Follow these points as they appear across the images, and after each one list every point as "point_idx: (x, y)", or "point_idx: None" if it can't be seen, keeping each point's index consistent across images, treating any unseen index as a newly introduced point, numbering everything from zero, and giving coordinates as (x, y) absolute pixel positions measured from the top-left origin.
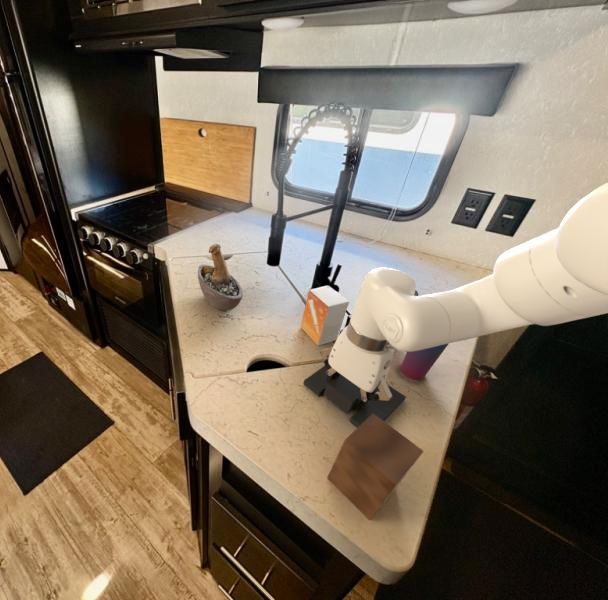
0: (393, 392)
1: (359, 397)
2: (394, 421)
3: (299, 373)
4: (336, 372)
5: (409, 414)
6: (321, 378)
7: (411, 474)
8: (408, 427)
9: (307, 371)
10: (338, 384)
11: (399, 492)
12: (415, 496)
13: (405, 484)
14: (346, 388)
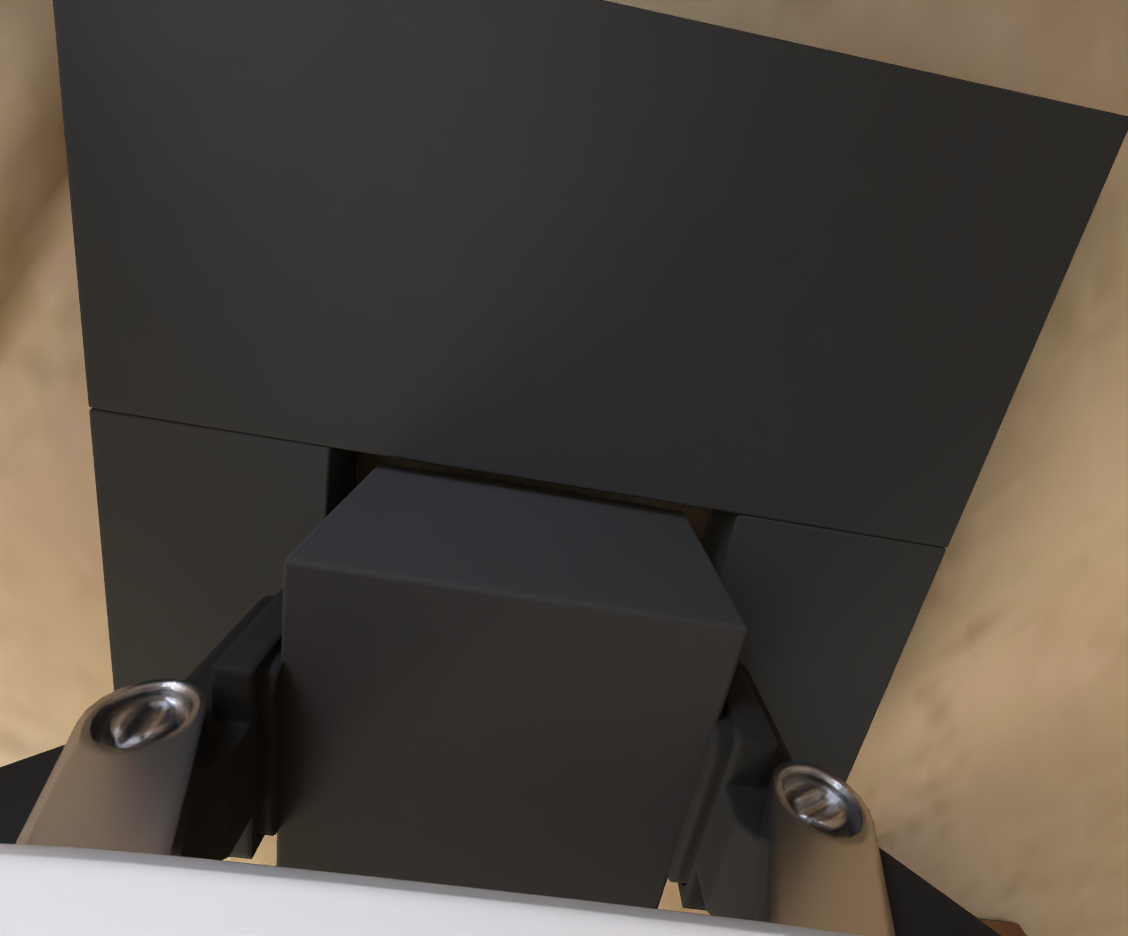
0: (969, 167)
1: (694, 888)
2: (974, 486)
3: (37, 578)
4: (219, 802)
5: (1109, 297)
6: (210, 580)
7: (1107, 804)
8: (1096, 463)
9: (62, 499)
10: (386, 838)
11: (1039, 924)
12: (1125, 894)
13: (1071, 872)
14: (497, 826)
